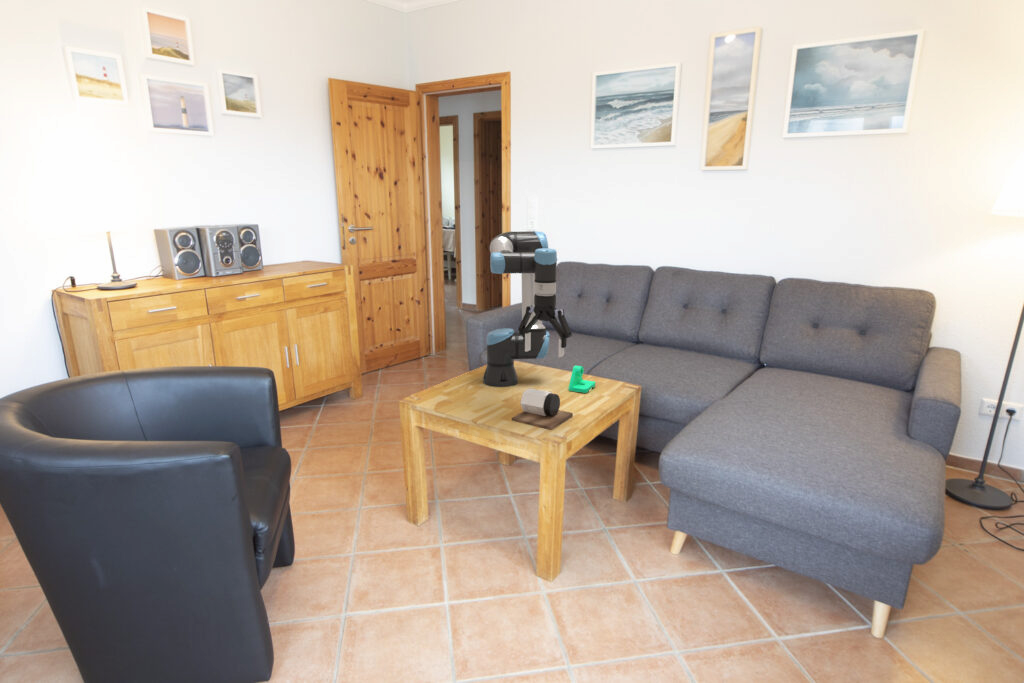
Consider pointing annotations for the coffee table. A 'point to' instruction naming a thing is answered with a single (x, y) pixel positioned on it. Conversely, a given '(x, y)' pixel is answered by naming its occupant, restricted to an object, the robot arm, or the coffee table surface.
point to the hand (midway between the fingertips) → (544, 353)
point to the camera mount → (579, 381)
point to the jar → (540, 402)
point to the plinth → (543, 419)
